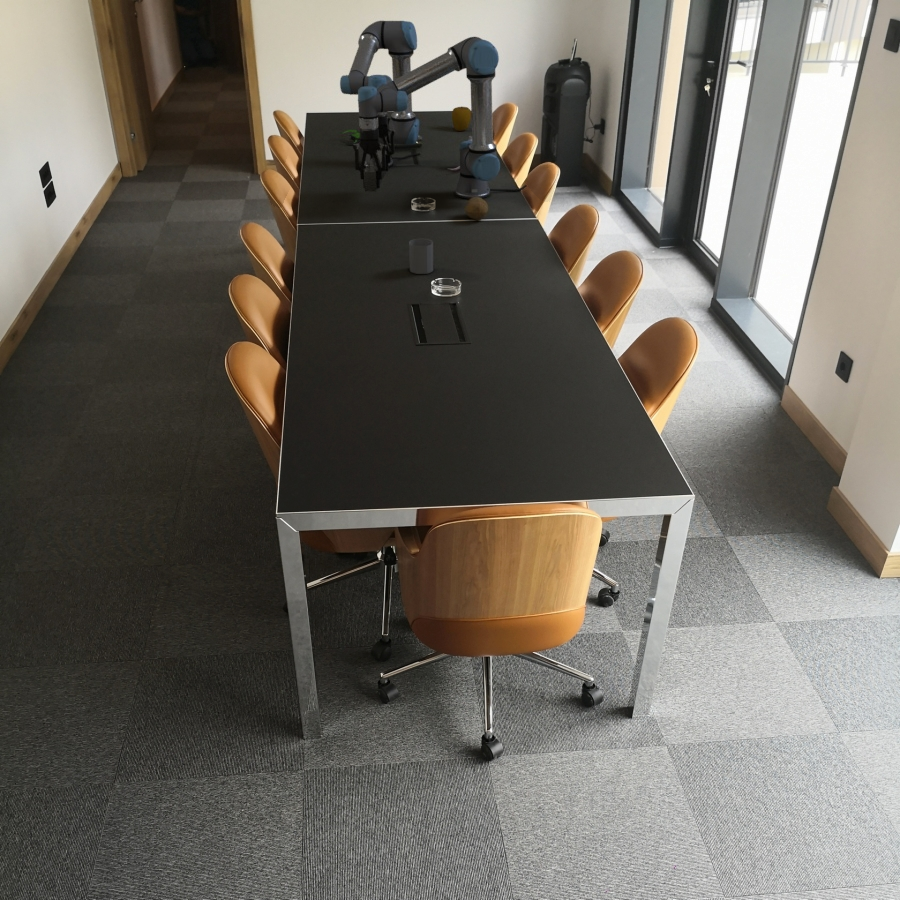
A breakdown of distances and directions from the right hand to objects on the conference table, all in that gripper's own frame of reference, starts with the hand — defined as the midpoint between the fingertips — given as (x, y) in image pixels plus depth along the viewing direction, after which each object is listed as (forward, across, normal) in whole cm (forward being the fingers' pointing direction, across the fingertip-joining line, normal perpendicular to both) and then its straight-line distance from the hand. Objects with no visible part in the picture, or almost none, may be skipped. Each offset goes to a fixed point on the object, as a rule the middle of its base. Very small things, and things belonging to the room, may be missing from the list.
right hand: (371, 187), depth 358 cm
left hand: (0, 0, +26) cm, 27 cm away
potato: (+11, +44, -5) cm, 45 cm away
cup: (+11, +27, -64) cm, 71 cm away
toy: (+11, +34, +67) cm, 76 cm away
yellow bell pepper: (+11, +27, +153) cm, 156 cm away
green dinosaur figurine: (+11, -20, +120) cm, 122 cm away
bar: (+1, 0, +13) cm, 13 cm away
